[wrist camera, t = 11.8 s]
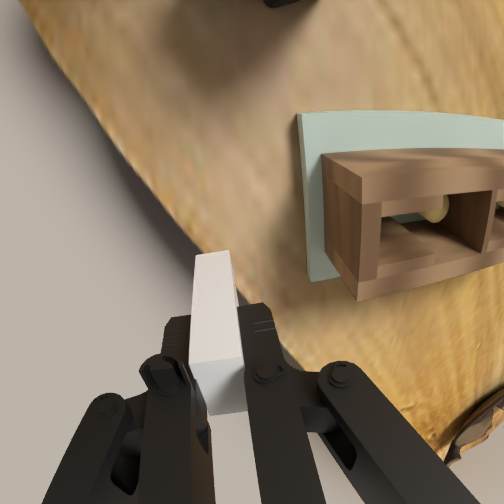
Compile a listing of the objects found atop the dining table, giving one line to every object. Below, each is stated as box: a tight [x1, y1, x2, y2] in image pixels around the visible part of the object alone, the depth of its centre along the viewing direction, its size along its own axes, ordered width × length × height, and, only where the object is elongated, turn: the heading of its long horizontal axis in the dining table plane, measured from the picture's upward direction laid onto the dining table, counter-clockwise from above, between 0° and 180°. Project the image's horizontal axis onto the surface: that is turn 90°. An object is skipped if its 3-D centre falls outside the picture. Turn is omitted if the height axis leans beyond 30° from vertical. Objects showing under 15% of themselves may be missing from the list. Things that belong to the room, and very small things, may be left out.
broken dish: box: [444, 388, 504, 467], centre depth 43 cm, size 22×30×8 cm
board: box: [297, 110, 504, 282], centre depth 20 cm, size 28×12×4 cm, turn 97°
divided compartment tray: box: [321, 148, 504, 302], centre depth 18 cm, size 20×7×6 cm, turn 97°
